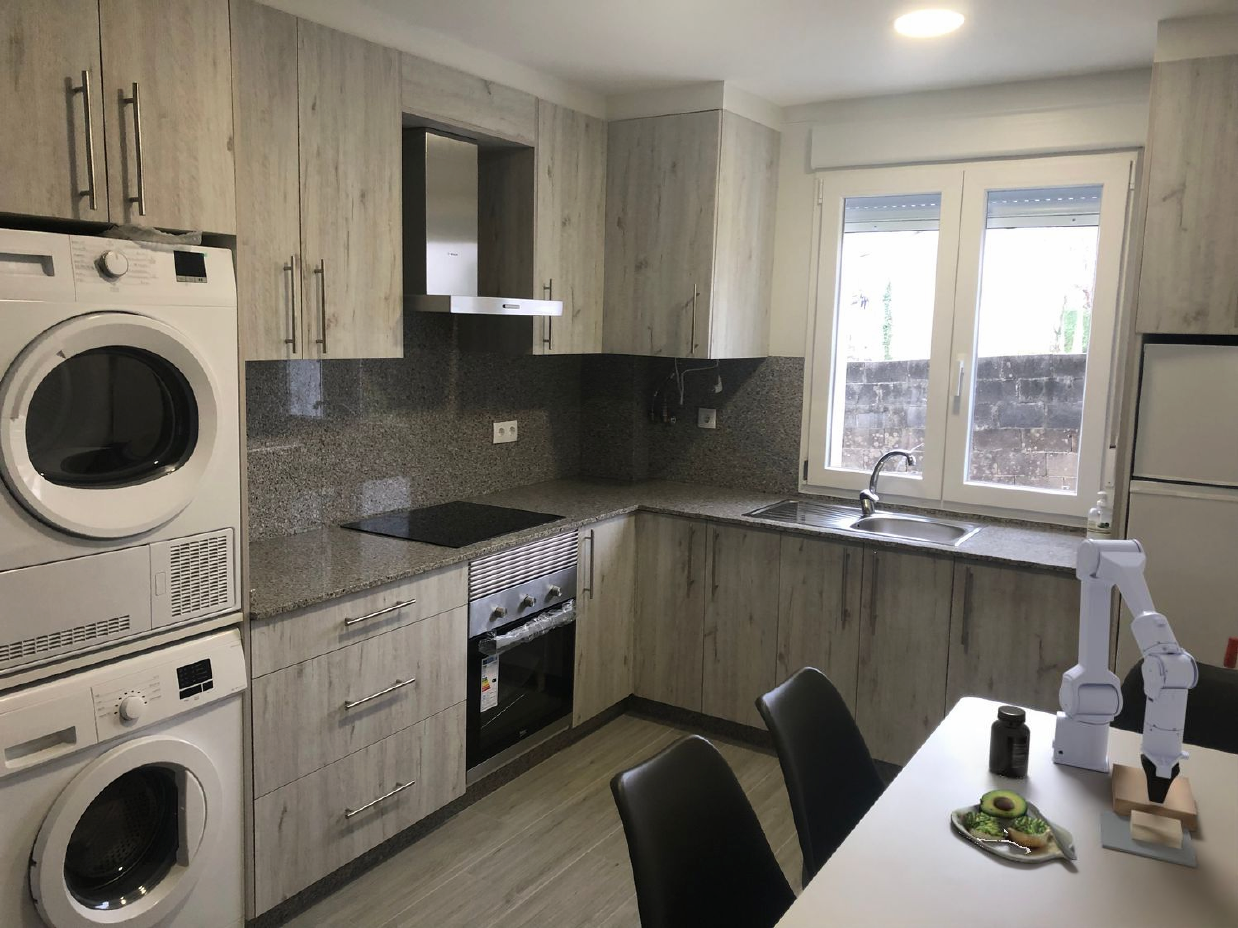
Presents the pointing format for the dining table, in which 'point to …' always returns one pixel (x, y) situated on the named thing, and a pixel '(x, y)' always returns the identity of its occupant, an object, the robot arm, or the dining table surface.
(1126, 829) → the rubber mat
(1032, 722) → the dining table surface
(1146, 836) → the ash block
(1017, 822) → the salad plate
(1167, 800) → the block
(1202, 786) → the dining table surface
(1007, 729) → the supplement bottle
